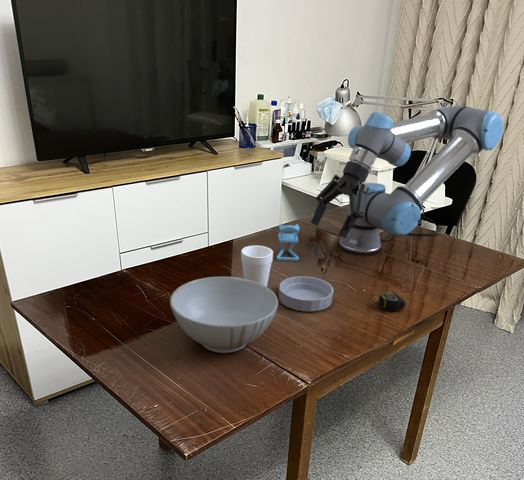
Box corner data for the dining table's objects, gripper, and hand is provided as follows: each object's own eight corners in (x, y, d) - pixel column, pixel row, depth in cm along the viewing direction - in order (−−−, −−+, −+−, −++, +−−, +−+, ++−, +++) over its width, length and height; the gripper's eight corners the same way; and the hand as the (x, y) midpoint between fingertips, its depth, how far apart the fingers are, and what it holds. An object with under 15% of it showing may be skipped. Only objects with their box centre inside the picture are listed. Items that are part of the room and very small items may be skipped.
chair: (296, 251, 196) (299, 219, 190) (298, 260, 189) (301, 227, 183) (275, 250, 196) (277, 218, 190) (276, 260, 189) (278, 226, 183)
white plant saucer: (309, 284, 174) (310, 272, 172) (342, 304, 163) (344, 292, 161) (268, 295, 166) (269, 283, 164) (300, 317, 155) (301, 305, 153)
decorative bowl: (265, 376, 130) (268, 332, 124) (157, 361, 134) (154, 317, 127) (282, 322, 153) (285, 282, 146) (189, 310, 156) (188, 271, 150)
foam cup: (235, 286, 170) (236, 247, 163) (263, 282, 173) (265, 243, 166) (247, 300, 163) (248, 259, 156) (275, 295, 166) (278, 255, 159)
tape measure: (405, 311, 162) (407, 300, 159) (384, 313, 160) (386, 302, 158) (393, 300, 167) (395, 289, 165) (373, 303, 165) (375, 292, 163)
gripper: (325, 152, 172) (295, 215, 177) (381, 168, 155) (346, 238, 159) (339, 162, 177) (310, 223, 182) (395, 179, 160) (362, 246, 164)
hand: (327, 230), depth 171 cm, fingers open, 13 cm apart
